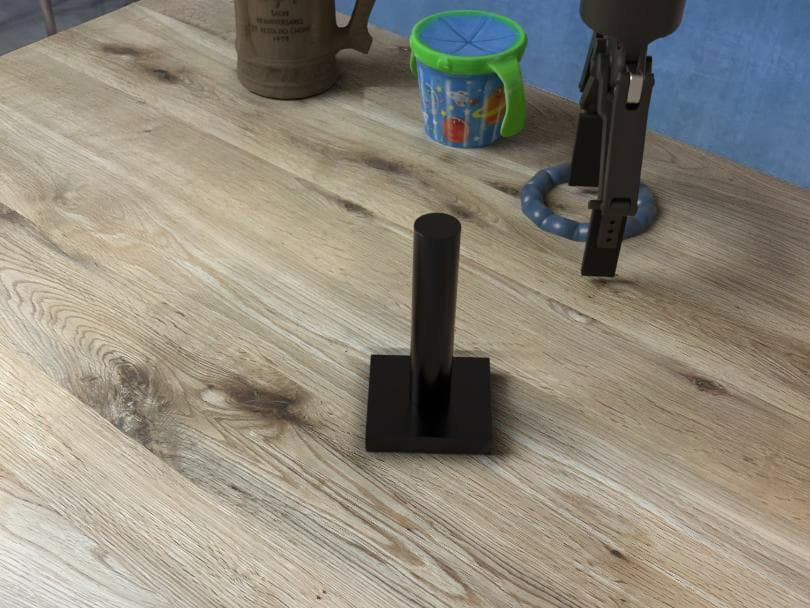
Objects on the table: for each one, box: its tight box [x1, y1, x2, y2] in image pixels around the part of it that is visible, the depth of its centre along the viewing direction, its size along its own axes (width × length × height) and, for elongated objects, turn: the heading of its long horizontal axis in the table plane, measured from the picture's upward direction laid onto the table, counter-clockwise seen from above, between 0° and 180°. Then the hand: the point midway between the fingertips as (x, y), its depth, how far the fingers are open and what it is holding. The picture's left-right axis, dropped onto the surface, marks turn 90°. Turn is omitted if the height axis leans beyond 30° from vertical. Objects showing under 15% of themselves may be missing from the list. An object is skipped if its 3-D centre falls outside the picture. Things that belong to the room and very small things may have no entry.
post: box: [364, 212, 495, 455], centre depth 72 cm, size 9×9×16 cm
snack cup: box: [409, 9, 529, 149], centre depth 100 cm, size 16×10×10 cm
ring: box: [519, 161, 658, 243], centre depth 94 cm, size 12×12×2 cm
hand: (589, 227), depth 91 cm, fingers open, 13 cm apart
